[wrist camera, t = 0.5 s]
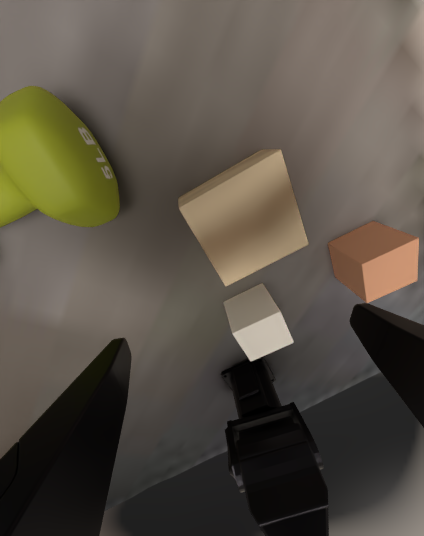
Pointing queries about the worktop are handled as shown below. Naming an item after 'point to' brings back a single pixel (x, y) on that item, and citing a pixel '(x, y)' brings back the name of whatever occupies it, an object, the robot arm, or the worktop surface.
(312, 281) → the worktop surface
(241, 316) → the offwhite cube
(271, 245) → the oak base block
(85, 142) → the dumbbell
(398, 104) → the worktop surface
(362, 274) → the terracotta cube
